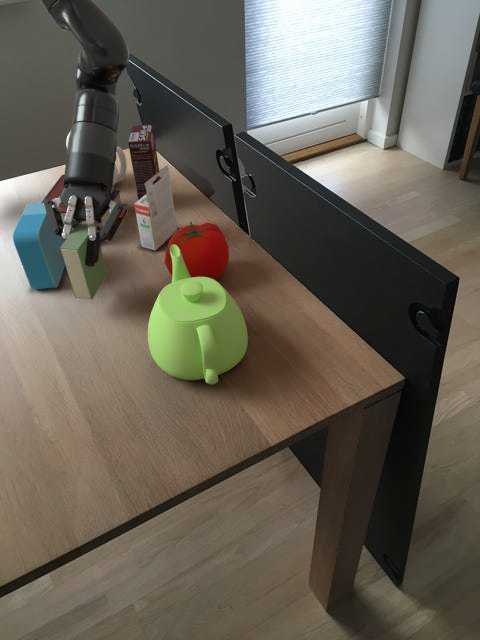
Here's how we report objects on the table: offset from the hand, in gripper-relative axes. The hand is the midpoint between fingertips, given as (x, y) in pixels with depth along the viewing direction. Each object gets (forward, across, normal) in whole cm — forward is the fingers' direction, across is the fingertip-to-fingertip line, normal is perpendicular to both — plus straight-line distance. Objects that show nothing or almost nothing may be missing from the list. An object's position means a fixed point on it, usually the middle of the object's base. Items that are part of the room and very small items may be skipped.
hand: (79, 264), depth 86 cm
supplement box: (-19, -1, +33) cm, 38 cm away
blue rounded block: (0, -12, +14) cm, 19 cm away
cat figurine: (-24, -15, +38) cm, 48 cm away
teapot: (+11, +20, +3) cm, 23 cm away
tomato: (-1, +16, +16) cm, 23 cm away
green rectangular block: (+3, 0, +6) cm, 6 cm away
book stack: (-12, -13, +26) cm, 31 cm away
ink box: (-9, +5, +23) cm, 26 cm away
